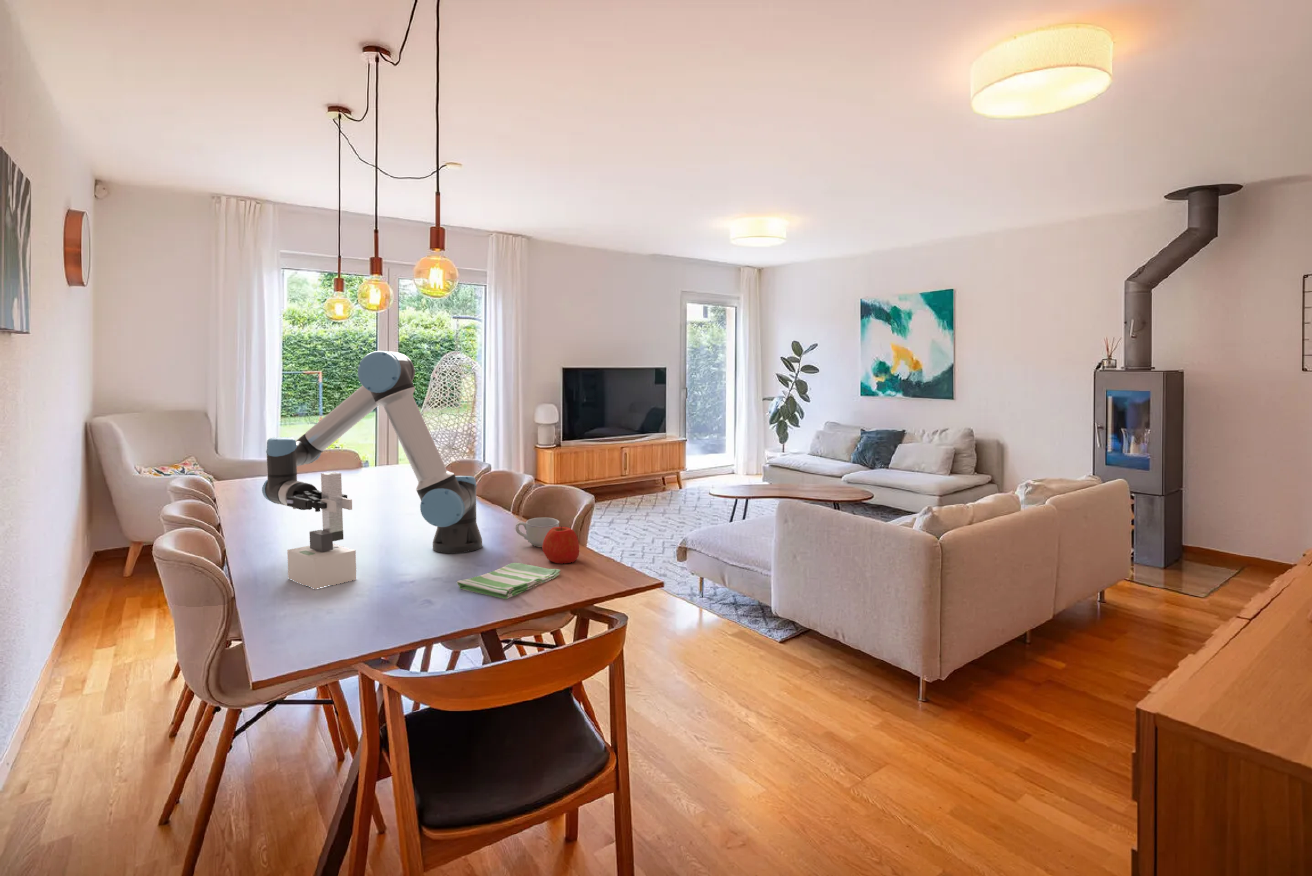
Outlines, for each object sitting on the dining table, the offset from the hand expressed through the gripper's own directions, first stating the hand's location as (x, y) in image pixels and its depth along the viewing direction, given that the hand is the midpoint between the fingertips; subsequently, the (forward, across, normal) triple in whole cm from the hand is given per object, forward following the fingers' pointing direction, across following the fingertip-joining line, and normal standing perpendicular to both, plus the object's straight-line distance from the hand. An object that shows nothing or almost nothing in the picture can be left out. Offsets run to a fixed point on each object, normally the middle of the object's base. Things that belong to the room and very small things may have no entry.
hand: (342, 505), depth 177 cm
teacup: (+11, -59, -20) cm, 63 cm away
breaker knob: (-5, +3, -12) cm, 13 cm away
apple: (+31, -50, -20) cm, 62 cm away
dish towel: (+34, -27, -21) cm, 48 cm away
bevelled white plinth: (-5, +3, -20) cm, 21 cm away
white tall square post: (-6, 0, -10) cm, 11 cm away
